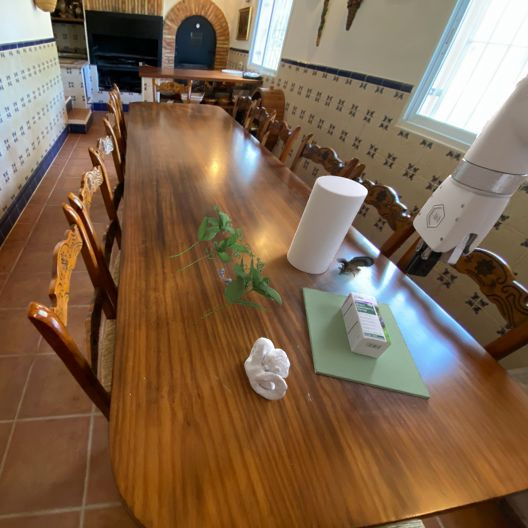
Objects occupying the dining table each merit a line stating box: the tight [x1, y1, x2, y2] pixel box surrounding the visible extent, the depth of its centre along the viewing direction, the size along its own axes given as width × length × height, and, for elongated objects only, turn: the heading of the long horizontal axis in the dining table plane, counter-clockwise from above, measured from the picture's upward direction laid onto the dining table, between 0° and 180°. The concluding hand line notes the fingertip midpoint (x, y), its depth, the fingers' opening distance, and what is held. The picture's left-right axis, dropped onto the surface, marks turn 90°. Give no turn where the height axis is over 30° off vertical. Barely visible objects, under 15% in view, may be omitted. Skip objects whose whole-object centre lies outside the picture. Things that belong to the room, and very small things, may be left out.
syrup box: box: [341, 291, 392, 358], centre depth 69 cm, size 6×6×14 cm
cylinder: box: [286, 175, 368, 275], centre depth 84 cm, size 12×12×25 cm
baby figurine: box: [243, 337, 291, 401], centre depth 59 cm, size 9×12×8 cm
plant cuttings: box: [168, 205, 283, 326], centre depth 74 cm, size 35×17×22 cm
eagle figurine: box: [336, 255, 375, 278], centre depth 87 cm, size 8×7×9 cm
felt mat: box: [302, 286, 432, 400], centre depth 70 cm, size 22×26×1 cm
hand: (414, 272), depth 54 cm, fingers closed
